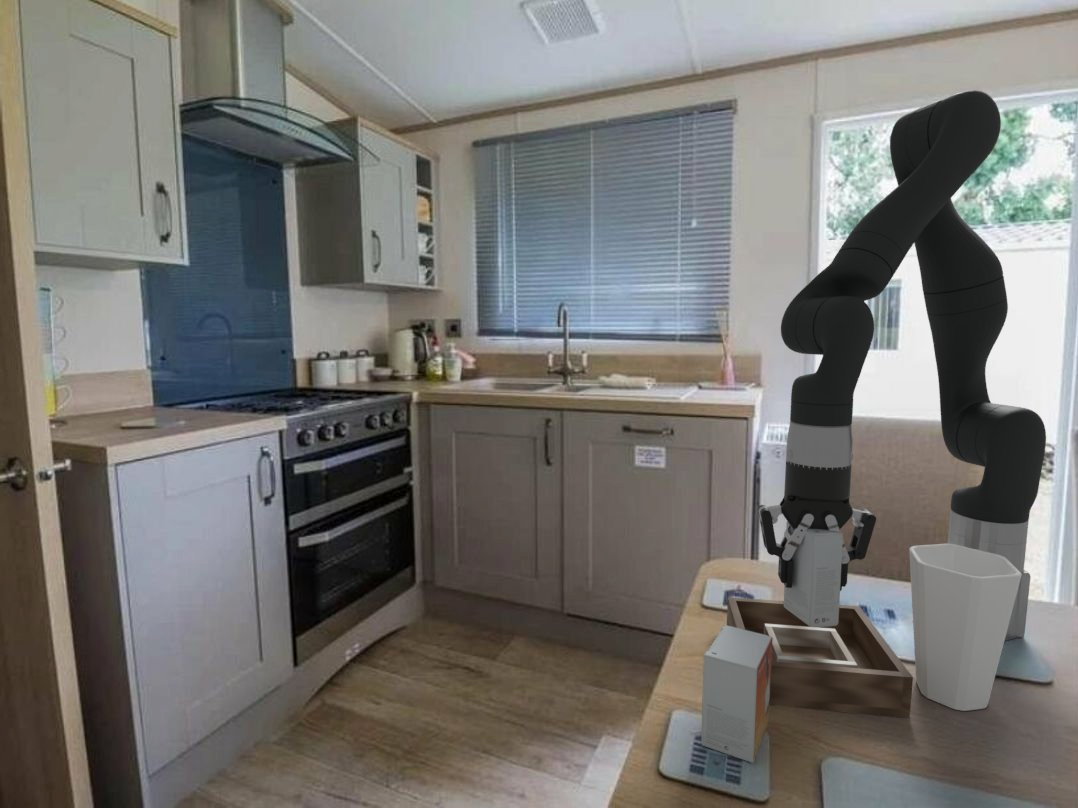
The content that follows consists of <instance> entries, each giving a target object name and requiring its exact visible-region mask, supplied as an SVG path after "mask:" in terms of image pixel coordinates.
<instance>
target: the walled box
mask: <svg viewBox="0 0 1078 808" xmlns="http://www.w3.org/2000/svg"><path fill="white" fill-rule="evenodd" d="M726 606H727V609H726V610H727V611H726V613H727V615H726V625H727V626H732V627H736V628H740V629H743V630H747V631H751V632H755V633H759V634H763V635H767V636H771V637H772V638H773V640H772V660H771V677H770V699H769V706H775V707H788V708H797V709H806V710H807V709H808V710H818V711H827V712H828V711H829V712H832V711H833V712H840V713H841V712H842V713H848V714H849V713H850V714H851V713H852V714H861V715H872V716H882V717H891V718H893V717H895V718H903V719H910V718H911V709H912V708H911V707H912V705H911V704H912V694H913V682H914V681H913V680H914V677H913V675H912V674H911V673H910V672H909V669H908V668H907V667H906V666H905V665H904V663H903V662H902V661H901V660H900V658H899V657H898V656H897V654H896V653H895V651H894V650H893V649H892V648H891V646H890V645H889V644H888V642H887V641H886V640H885V638H884V637H883V636H882V634H881V633H880V632H879V630H878V629H877V628H876V626H875V624H873V622H872V621H871V620H870V618H869V617H868V616H867V614H866V613H865V611H863V608H861V606H860V605H850V604H849V605H847V604H839V620H838V624H837V625H836V626H827V627H810V626H808V625H807V624H806V623H804V622H803V621H802V620H800V619H799V618H798V617H796V616H795V615H794V614H792V613H791V612H790V611H788V610H787V609H786V608H785V607H784V600H774V599H773V600H772V599H759V598H745V597H744V598H743V597H731V596H728V597H727V605H726Z"/></svg>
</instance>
